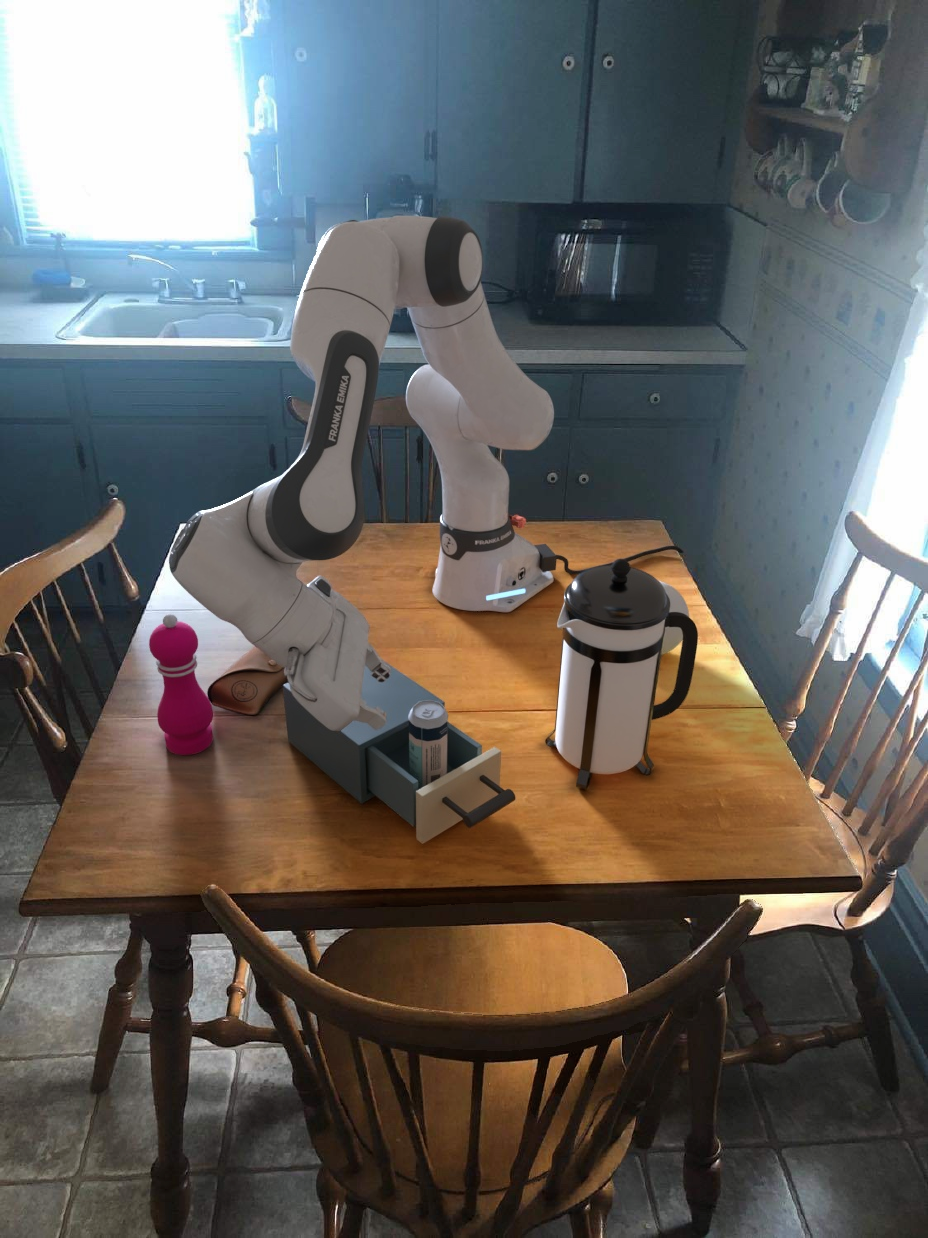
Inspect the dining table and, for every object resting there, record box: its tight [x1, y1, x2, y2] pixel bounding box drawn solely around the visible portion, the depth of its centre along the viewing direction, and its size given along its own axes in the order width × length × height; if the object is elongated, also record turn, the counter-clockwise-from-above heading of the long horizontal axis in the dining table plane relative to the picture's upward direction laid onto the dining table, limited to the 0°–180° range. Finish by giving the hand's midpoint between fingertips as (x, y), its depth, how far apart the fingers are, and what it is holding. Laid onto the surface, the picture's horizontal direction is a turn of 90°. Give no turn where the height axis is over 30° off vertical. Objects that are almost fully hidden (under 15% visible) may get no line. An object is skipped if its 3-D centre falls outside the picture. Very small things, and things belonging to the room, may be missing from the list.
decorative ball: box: [658, 580, 690, 656], centre depth 148 cm, size 12×12×12 cm
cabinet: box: [282, 658, 446, 805], centre depth 126 cm, size 17×14×9 cm
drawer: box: [365, 721, 516, 845], centre depth 117 cm, size 21×13×7 cm, turn 42°
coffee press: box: [544, 558, 699, 791], centre depth 121 cm, size 17×16×30 cm
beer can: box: [408, 700, 449, 790], centre depth 116 cm, size 5×5×12 cm
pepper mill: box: [148, 613, 215, 756], centre depth 124 cm, size 7×7×20 cm
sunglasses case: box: [206, 645, 289, 716], centre depth 141 cm, size 18×7×7 cm
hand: (384, 698), depth 112 cm, fingers open, 8 cm apart
